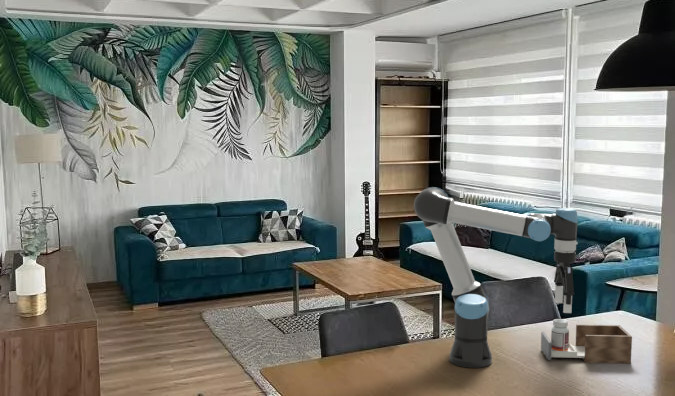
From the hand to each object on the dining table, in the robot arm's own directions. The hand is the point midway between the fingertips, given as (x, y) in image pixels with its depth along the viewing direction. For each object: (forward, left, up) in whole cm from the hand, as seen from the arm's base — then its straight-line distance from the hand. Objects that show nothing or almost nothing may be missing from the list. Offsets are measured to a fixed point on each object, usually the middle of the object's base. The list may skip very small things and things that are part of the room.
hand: (562, 307), depth 263 cm
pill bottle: (-1, 0, -16) cm, 16 cm away
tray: (+2, 0, -18) cm, 18 cm away
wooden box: (+15, 0, -18) cm, 24 cm away
